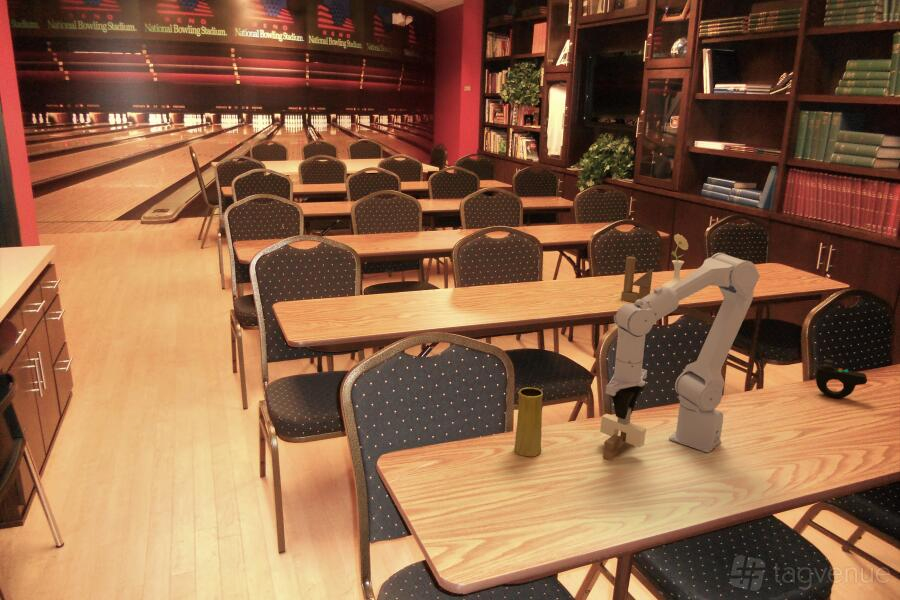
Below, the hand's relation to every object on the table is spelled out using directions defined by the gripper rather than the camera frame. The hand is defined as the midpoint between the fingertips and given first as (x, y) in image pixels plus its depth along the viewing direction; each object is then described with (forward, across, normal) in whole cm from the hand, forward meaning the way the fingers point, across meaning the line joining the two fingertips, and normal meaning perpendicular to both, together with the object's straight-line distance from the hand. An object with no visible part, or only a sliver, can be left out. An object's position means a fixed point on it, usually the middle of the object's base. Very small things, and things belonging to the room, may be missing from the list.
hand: (623, 415), depth 149 cm
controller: (+8, +69, -27) cm, 74 cm away
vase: (+9, -16, +14) cm, 23 cm away
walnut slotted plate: (+8, 0, 0) cm, 8 cm away
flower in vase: (+8, +140, +55) cm, 151 cm away
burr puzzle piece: (+6, 0, 0) cm, 6 cm away
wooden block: (+9, +114, +59) cm, 129 cm away
